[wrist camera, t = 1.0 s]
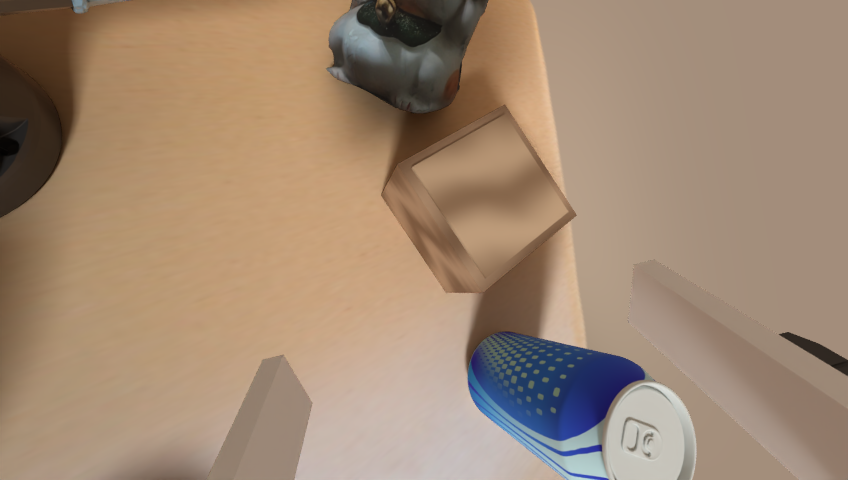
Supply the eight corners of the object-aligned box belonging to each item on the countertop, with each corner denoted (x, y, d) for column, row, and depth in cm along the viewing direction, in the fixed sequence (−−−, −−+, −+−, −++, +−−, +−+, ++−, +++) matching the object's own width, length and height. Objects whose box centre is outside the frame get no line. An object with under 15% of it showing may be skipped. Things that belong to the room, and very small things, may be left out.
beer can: (510, 315, 33) (662, 334, 18) (546, 383, 33) (729, 462, 18) (447, 358, 30) (564, 425, 15) (486, 433, 30) (644, 577, 15)
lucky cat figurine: (299, 57, 31) (300, -159, 20) (374, 46, 39) (402, -113, 29) (415, 136, 28) (482, -65, 18) (470, 107, 36) (538, -44, 26)
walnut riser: (381, 195, 31) (398, 162, 23) (467, 145, 35) (506, 102, 27) (446, 292, 31) (484, 292, 23) (523, 231, 35) (578, 214, 27)
